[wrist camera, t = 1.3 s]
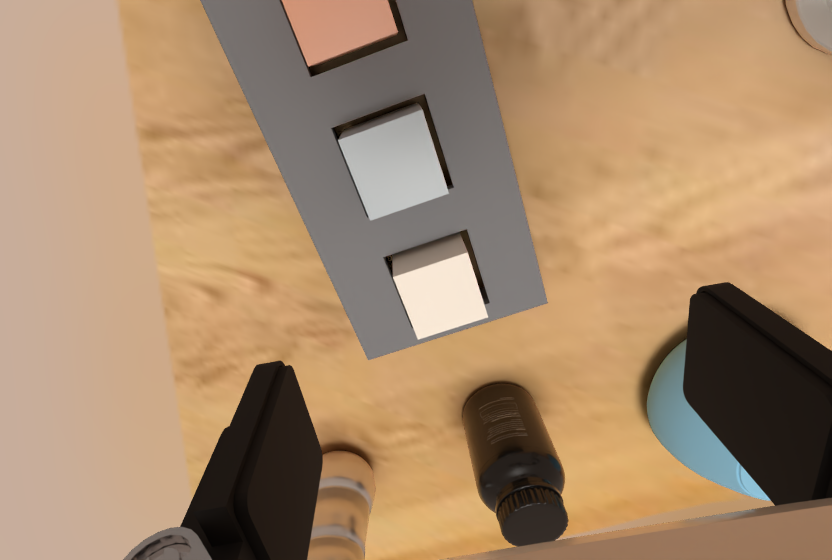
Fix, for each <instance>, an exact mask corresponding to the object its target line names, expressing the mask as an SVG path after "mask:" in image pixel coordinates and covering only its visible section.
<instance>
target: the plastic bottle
mask: <svg viewBox="0 0 832 560" xmlns="http://www.w3.org/2000/svg"><path fill="white" fill-rule="evenodd" d="M322 457H323V465H322V472H321V478H320V484H319V490H318V496H317V502H316V508H315V514H314V521H313V527H312V533H311V539H310V545H309V551H308V557H307V560H365V541H366V534H367V528H368V521H369V514H370V512H371V509H372V506H373V501H374V496H375V489H376V488H375V482H374V476H373V471H372V469H371V467H370V466H369V465H368V463H367V462H366V461H365V460H364V459H363V458H361V457H360V456H358V455H357V454H355V453H352V452H348V451H332V452H328V453H325V454H323V455H322Z"/></svg>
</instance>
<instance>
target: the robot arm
mask: <svg viewBox="0 0 832 560" xmlns="http://www.w3.org/2000/svg"><path fill="white" fill-rule="evenodd" d="M786 7H787V10H788V13H789V15H790V18H791V21H792V24H793V25H794V27H795V28H796V30H797V31H798V33H799V34H800V36H801V37H802V38H803V39H804V40H805V41H807V42H808V43H809V44H810V45H811V46H812V47H814V48H816V49H818V50H820V51H822V52H824V53H826V54H831V55H832V0H786ZM683 393H684V396H685V399H686V401H687V402H688V404H689V405H690V406H691V407H692V408H693V410H694V411H695V412H696V413H697V414H698V416H699V417H700V418H701V419H702V420H703V421H704V423H705V424H706V425H707V426H708V427H709V428H710V430H711V431H712V432H713V433H714V434H715V435H716V437H717V438H718V439H719V440H720V441H721V442H722V444H723V445H724V446H725V447H726V448H727V450H728V451H729V452H730V453H731V454H732V455H733V457H734V458H735V459H736V460H737V461H738V462H739V464H740V465H741V466H742V467H743V468H744V469H745V471H746V472H747V473H748V474H749V475H750V476H751V478H752V479H753V480H754V481H755V482H756V484H757V485H758V486H759V487H760V488H761V489H762V491H763V492H764V493H765V494H766V495H767V496H768V498H769V499H770V500H771V501H772V502H773V503H774V505H775V506H770V507H764V508H758V509H752V510H745V511H738V512H732V513H726V514H720V515H713V516H706V517H700V518H694V519H687V520H681V521H675V522H668V523H662V524H655V525H649V526H644V527H637V528H630V529H624V530H618V531H612V532H605V533H599V534H594V535H587V536H581V537H574V538H568V539H562V540H556V541H550V542H544V543H537V544H531V545H525V546H519V547H513V548H507V549H501V550H495V551H489V552H483V553H477V554H471V555H465V556H459V557H453V558H447V559H441V560H832V351H831V350H829V349H828V348H826V347H825V346H823V345H822V344H820V343H819V342H817V341H816V340H814V339H813V338H811V337H810V336H808V335H807V334H805V333H804V332H802V331H801V330H799V329H798V328H796V327H795V326H794V325H792V324H791V323H789V322H788V321H786V320H785V319H783V318H782V317H780V316H779V315H777V314H776V313H774V312H773V311H771V310H770V309H768V308H767V307H765V306H764V305H762V304H761V303H759V302H758V301H756V300H755V299H753V298H752V297H750V296H749V295H748V294H746V293H745V292H743V291H742V290H740V289H739V288H737V287H736V286H734V285H733V284H731V283H728V282H726V283H719V284H714V285H708V286H702V287H700V288H699V289H698V290H697V293H696V294H694V295H692V296H691V298H690V306H689V318H688V330H687V342H686V354H685V366H684V378H683ZM322 465H323V457H322V450H321V447H320V444H319V441H318V438H317V435H316V433H315V430H314V427H313V424H312V421H311V418H310V415H309V413H308V410H307V407H306V404H305V401H304V398H303V395H302V392H301V390H300V387H299V384H298V381H297V378H296V375H295V372H294V370H293V368H292V366H290V365H288V366H285V365H284V363H283V362H282V361H276V362H270V363H264V364H259V365H256V367H255V368H254V370H253V373H252V375H251V377H250V380H249V382H248V384H247V387H246V389H245V391H244V394H243V396H242V398H241V401H240V403H239V405H238V408H237V410H236V412H235V415H234V417H233V419H232V422H231V424H230V426H228V427H227V428H225V429H224V431H223V432H222V434H221V436H220V438H219V440H218V443H217V445H216V447H215V449H214V452H213V454H212V456H211V458H210V461H209V463H208V465H207V467H206V470H205V472H204V474H203V477H202V479H201V481H200V483H199V486H198V488H197V490H196V492H195V495H194V497H193V499H192V501H191V504H190V506H189V508H188V510H187V513H186V515H185V517H184V520H183V522H182V524H181V526H180V527H175V528H169V529H166V530H163V531H160V532H157V533H156V534H154V535H152V536H150V537H148V538H147V539H145V540H143V541H142V542H141V543H140V544H139V545H138V546H136V547H135V548H134V549H132V550H131V552H129V554H128V555H127V556H126V557H125V558H124V559H123V560H307V557H308V551H309V545H310V539H311V533H312V527H313V521H314V514H315V508H316V502H317V496H318V490H319V484H320V478H321V472H322Z"/></svg>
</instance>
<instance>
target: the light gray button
mask: <svg viewBox="0 0 832 560" xmlns="http://www.w3.org/2000/svg"><path fill="white" fill-rule="evenodd" d="M338 142H339V144H340V147H341V149H342V152H343V154H344V157H345V159H346V162H347V164H348V167H349V169H350V172H351V174H352V177H353V179H354V182H355V184H356V187H357V189H358V192H359V194H360V197H361V199H362V202H363V204H364V207H365V209H366V212H367V214H368V217H369V219H370V221H371V220H374V219H377V218H380V217H383V216H386V215H388V214H391V213H394V212H397V211H400V210H403V209H406V208H409V207H412V206H414V205H417V204H420V203H423V202H426V201H429V200H432V199H435V198H438V197H440V196H443V195H446V194H449V192H448V189H447V185H446V182H445V179H444V176H443V173H442V170H441V167H440V163H439V160H438V157H437V154H436V151H435V148H434V144H433V141H432V138H431V135H430V132H429V129H428V126H427V122H426V119H425V116H424V113H423V110H422V108H421V106H420V105H419V103H418V102H417V103H415V104H412V105H409V106H406V107H404V108H401V109H398V110H396V111H393V112H390V113H387V114H385V115H382V116H379V117H377V118H374V119H371V120H368V121H366V122H363V123H360V124H357V125H355V126H352V127H349V128H347V129H344V131H343V132H342V134H341V136H340V138H339V139H338Z"/></svg>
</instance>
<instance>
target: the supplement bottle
mask: <svg viewBox="0 0 832 560" xmlns="http://www.w3.org/2000/svg"><path fill="white" fill-rule="evenodd" d="M463 425H464V430H465V435H466V439H467V444H468V448H469V453H470V458H471V462H472V467H473V471H474V476H475V481H476V485H477V489H478V493H479V496H480V498H481V500H482V501H483V503H484V504H485V505H486V506H487V507H488V508H489V509H490V510H492V511H493V512H495V513H496V516H497V519H498V521H499V524H500V528H501V532H502V535H503V536H504V538H505V539H506V540H507V541H508V542H509V543H511V544H512V545H515V546H517V547H519V546H525V545H531V544H537V543H544V542H550V541H555V540H556V539H558V538H559V537H560V536H561V535H562V534H563V532H564V531H565V530H566V527H567V526H568V524H567V523H568V516H567V512H566V510H565V507H564V505H563V499H562V496H561V494H562V491H563V488H564V484H565V474H564V470H563V467H562V464H561V462H560V459H559V457H558V455H557V452H556V450H555V448H554V445H553V443H552V441H551V439H550V436H549V434H548V432H547V429H546V427H545V425H544V422H543V420H542V418H541V415H540V413H539V411H538V408H537V406H536V404H535V402H534V400H533V398H532V397H531V395H530V394H529V393H528V392H526V391H525V390H524V389H522V388H520V387H518V386H515V385H512V384H494V385H490V386H487V387H484V388H482V389H480V390H479V391H477V392H476V393H475V394H474V395H473V396H471V398H470V399H469V400H468V401H467V403H466V405H465V407H464V410H463Z"/></svg>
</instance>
